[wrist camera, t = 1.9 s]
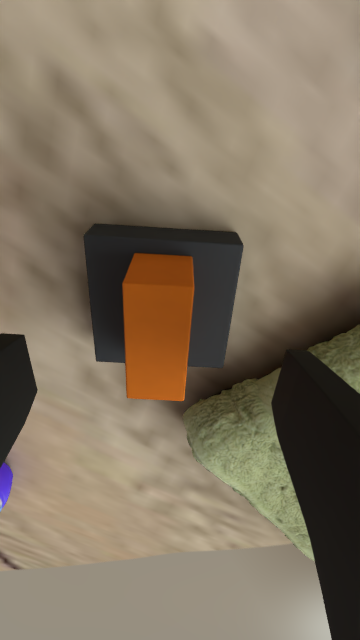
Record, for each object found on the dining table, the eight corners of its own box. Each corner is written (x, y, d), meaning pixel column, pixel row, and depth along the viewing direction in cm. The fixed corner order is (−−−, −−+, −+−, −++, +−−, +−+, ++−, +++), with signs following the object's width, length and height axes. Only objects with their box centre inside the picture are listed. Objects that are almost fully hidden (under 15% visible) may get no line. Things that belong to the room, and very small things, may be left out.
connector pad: (103, 341, 15) (78, 406, 11) (93, 223, 12) (56, 261, 8) (219, 347, 15) (230, 414, 11) (237, 232, 12) (259, 273, 8)
